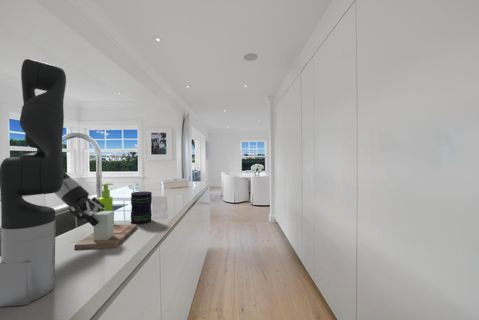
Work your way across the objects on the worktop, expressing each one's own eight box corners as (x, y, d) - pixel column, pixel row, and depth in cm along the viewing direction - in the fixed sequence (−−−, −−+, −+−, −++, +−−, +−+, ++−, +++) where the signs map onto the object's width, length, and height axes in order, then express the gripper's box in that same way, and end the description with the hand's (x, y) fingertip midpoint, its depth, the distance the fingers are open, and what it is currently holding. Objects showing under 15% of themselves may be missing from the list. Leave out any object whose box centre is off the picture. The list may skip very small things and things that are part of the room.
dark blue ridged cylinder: (141, 218, 113) (141, 191, 113) (155, 220, 110) (156, 192, 110) (125, 223, 104) (126, 193, 103) (141, 225, 100) (141, 195, 100)
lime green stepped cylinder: (116, 221, 106) (116, 183, 106) (106, 226, 99) (107, 184, 99) (105, 221, 106) (106, 182, 106) (95, 225, 99) (95, 184, 99)
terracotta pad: (121, 233, 86) (121, 232, 86) (97, 233, 85) (97, 233, 85) (129, 226, 95) (129, 225, 95) (108, 226, 94) (108, 226, 94)
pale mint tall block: (107, 240, 79) (107, 214, 79) (93, 240, 78) (93, 214, 78) (113, 235, 84) (114, 210, 84) (100, 235, 83) (100, 211, 83)
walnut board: (115, 247, 76) (116, 243, 76) (74, 249, 74) (74, 244, 74) (137, 227, 98) (137, 224, 98) (105, 228, 96) (105, 225, 96)
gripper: (65, 188, 73) (100, 219, 74) (89, 183, 87) (118, 209, 88) (48, 203, 72) (84, 234, 74) (75, 195, 86) (104, 222, 88)
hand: (102, 221), depth 81 cm, fingers open, 8 cm apart
